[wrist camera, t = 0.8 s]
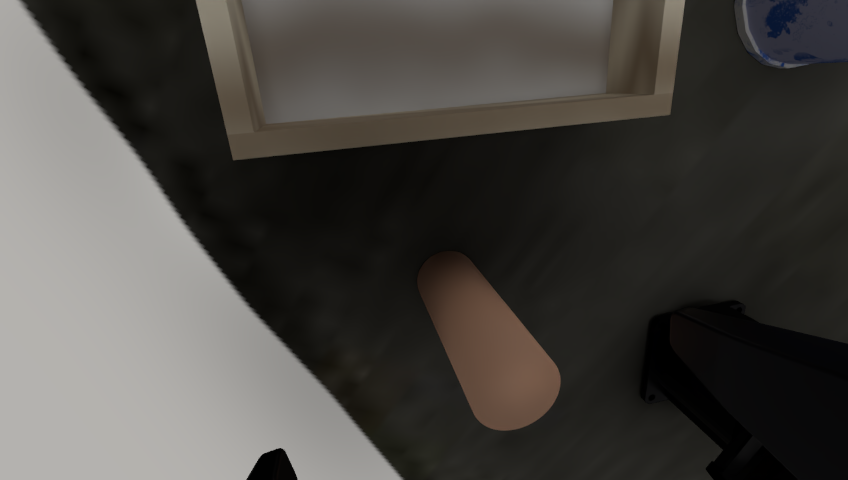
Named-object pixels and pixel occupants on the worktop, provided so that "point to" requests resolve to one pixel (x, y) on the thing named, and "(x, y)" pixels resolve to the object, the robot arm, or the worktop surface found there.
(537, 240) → the worktop surface
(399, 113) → the tray
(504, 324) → the peg
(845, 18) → the aerosol can
